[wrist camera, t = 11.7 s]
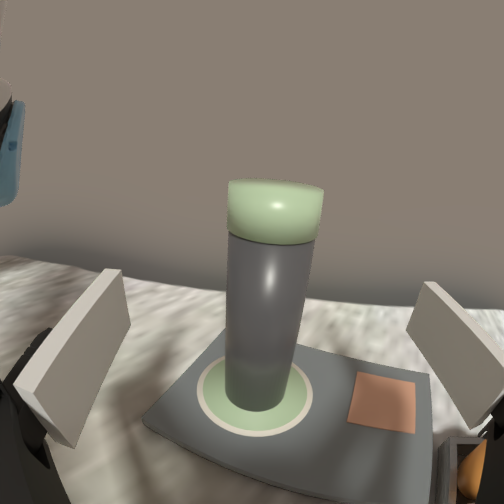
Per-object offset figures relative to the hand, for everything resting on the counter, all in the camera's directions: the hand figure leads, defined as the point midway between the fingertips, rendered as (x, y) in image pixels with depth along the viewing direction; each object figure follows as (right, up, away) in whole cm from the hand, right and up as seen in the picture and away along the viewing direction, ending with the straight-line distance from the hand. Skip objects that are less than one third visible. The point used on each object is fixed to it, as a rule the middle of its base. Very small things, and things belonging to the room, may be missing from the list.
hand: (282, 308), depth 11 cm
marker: (-1, -7, +6) cm, 9 cm away
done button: (+13, -13, -3) cm, 18 cm away
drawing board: (+3, -9, +5) cm, 10 cm away
